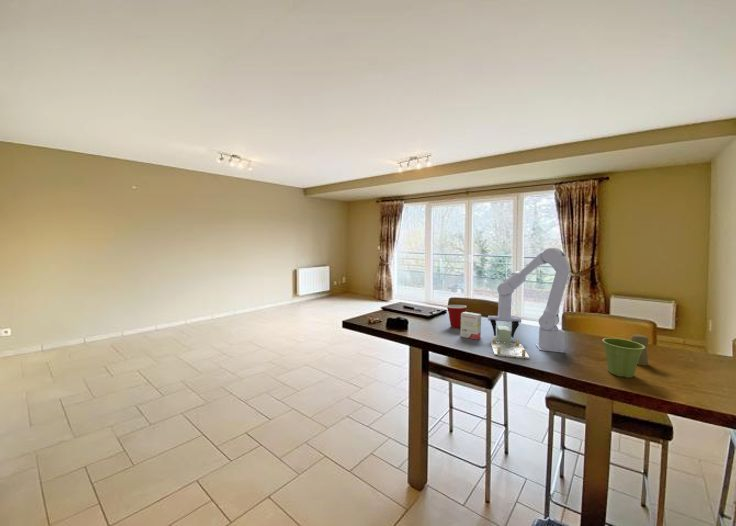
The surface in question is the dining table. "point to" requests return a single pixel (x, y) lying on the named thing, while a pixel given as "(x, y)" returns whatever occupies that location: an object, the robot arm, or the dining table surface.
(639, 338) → the grey upright block
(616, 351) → the plant pot
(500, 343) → the chassis plate
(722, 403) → the dining table surface
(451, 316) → the plastic cup
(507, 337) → the board block
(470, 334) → the ink box
